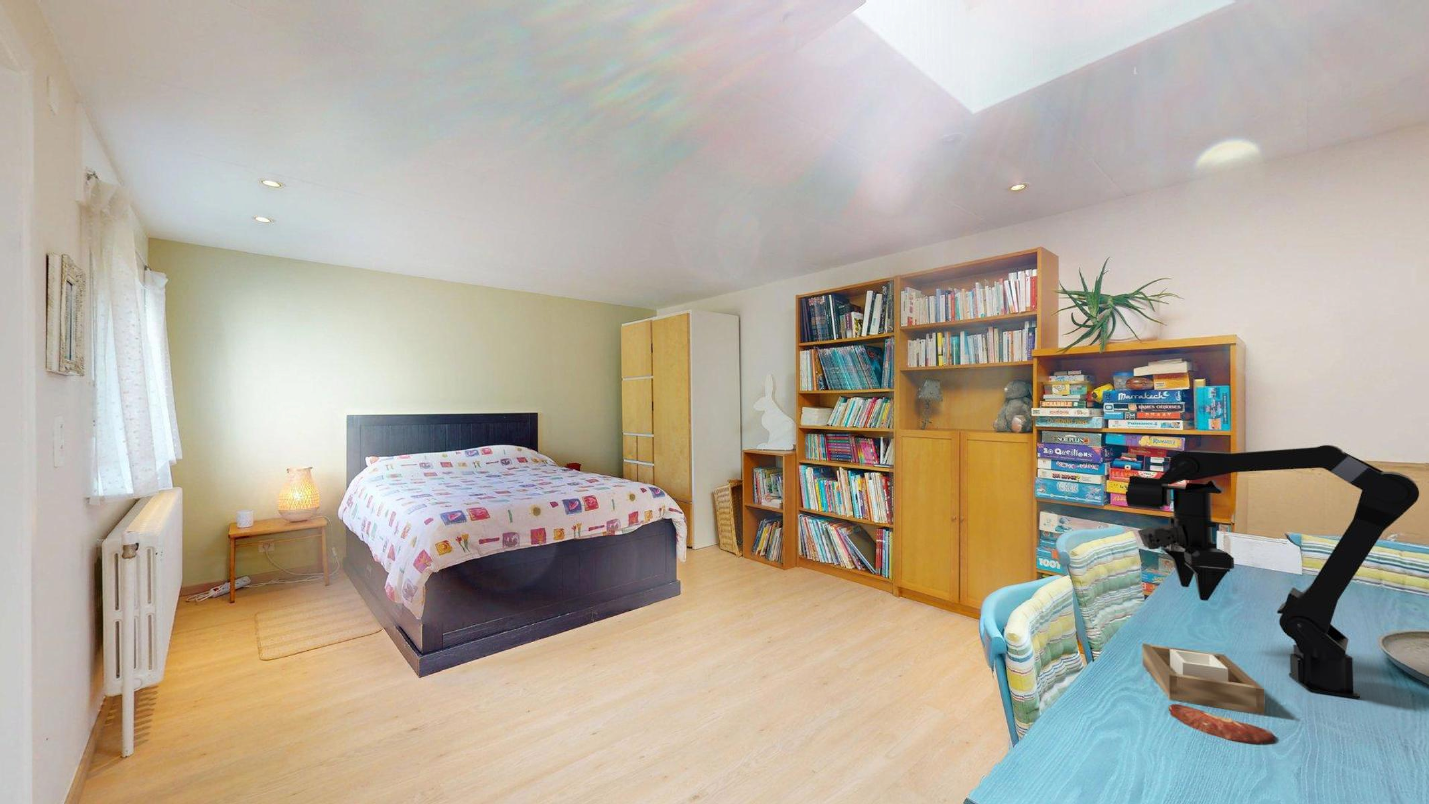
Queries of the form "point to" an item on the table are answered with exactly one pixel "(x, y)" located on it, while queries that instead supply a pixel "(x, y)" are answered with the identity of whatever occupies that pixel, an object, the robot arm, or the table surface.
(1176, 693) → the walnut crate
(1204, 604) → the table surface
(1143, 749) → the table surface
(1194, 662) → the cream crate
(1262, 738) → the steak
